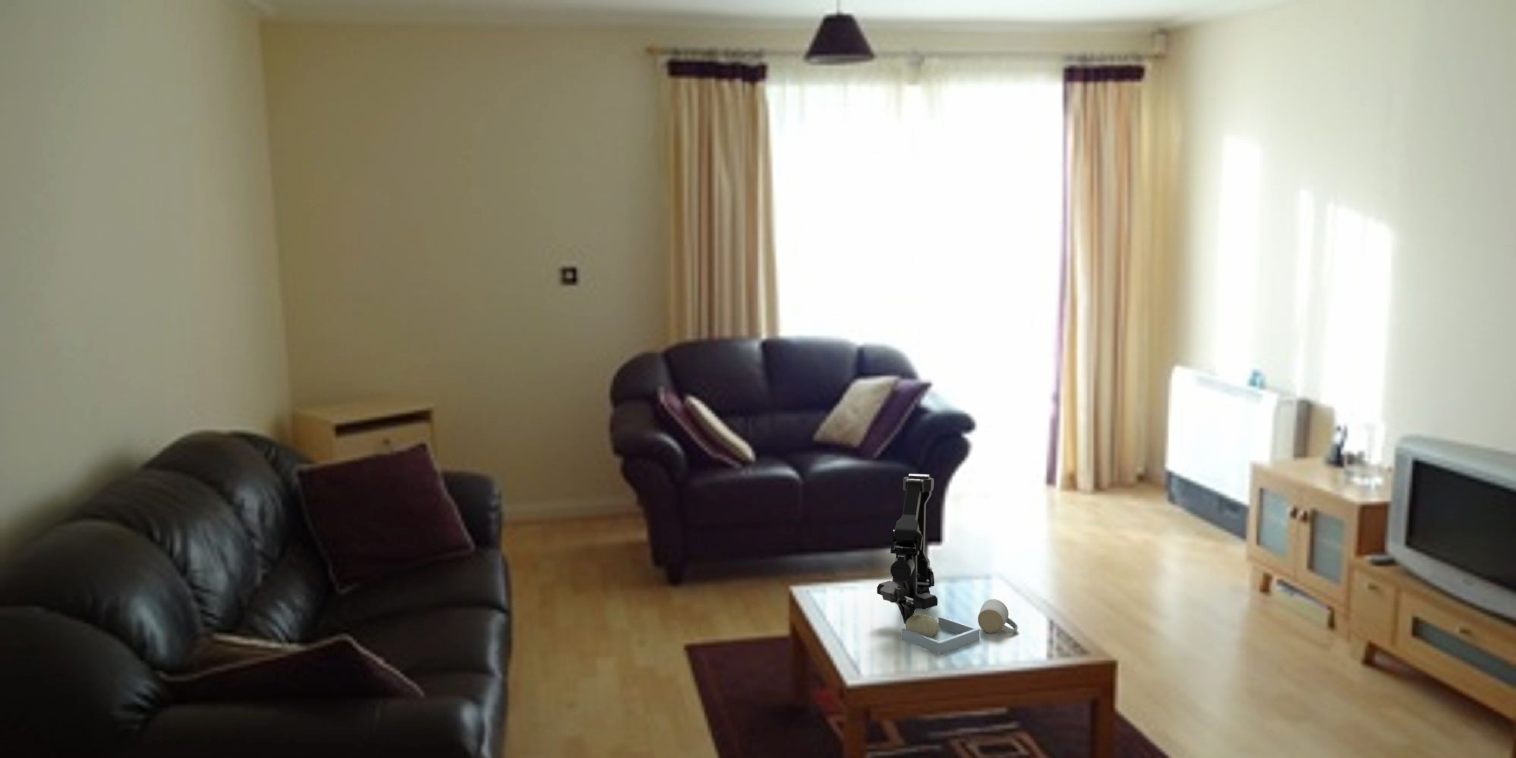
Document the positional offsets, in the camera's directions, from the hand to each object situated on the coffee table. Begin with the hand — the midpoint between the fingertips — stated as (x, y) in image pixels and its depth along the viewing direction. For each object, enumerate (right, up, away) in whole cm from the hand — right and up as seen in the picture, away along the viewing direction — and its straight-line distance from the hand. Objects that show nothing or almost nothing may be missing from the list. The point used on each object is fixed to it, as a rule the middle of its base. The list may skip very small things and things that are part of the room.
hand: (906, 624), depth 299 cm
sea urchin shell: (+4, -2, -4) cm, 6 cm away
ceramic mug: (+25, -1, -3) cm, 25 cm away
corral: (+8, -2, -9) cm, 12 cm away
